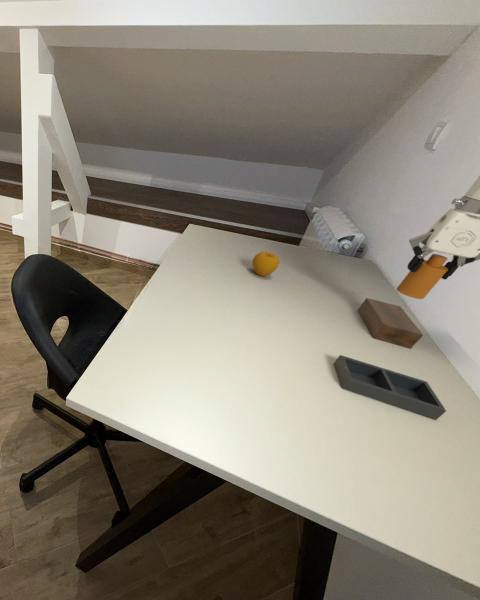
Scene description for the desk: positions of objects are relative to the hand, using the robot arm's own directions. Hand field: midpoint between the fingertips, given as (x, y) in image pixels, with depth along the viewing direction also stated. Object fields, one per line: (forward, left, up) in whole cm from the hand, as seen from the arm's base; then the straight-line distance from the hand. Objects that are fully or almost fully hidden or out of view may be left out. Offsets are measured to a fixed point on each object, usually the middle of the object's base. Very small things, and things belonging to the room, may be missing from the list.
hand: (426, 273), depth 84 cm
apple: (+34, -17, -19) cm, 43 cm away
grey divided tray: (+10, +33, -19) cm, 39 cm away
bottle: (0, 0, -6) cm, 6 cm away
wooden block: (0, 0, -19) cm, 19 cm away
